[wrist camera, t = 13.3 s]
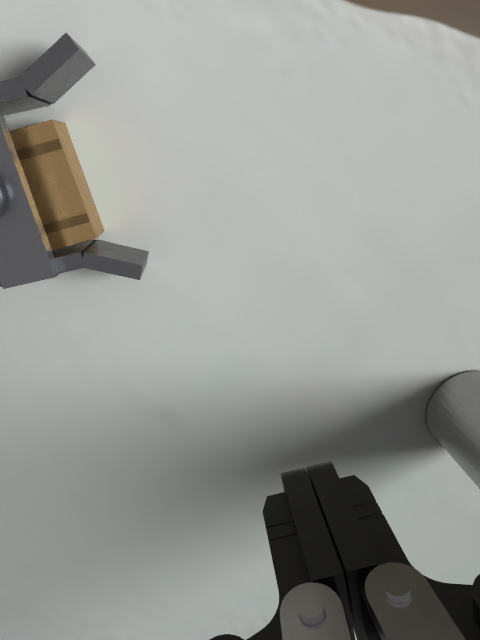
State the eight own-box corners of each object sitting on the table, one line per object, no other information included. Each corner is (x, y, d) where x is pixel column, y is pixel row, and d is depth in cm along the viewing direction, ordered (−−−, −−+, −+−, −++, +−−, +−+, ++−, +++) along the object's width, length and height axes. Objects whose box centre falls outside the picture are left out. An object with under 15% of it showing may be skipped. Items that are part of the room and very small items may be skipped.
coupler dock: (91, 49, 36) (62, 18, 28) (151, 263, 42) (142, 288, 34) (-107, 92, 35) (-196, 73, 27) (-17, 301, 41) (-67, 337, 33)
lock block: (66, 123, 37) (51, 119, 34) (105, 230, 41) (96, 238, 37) (-29, 149, 37) (-55, 148, 33) (17, 254, 41) (-1, 265, 37)
